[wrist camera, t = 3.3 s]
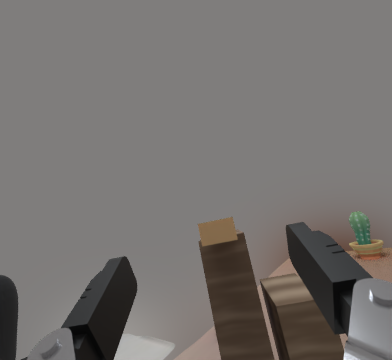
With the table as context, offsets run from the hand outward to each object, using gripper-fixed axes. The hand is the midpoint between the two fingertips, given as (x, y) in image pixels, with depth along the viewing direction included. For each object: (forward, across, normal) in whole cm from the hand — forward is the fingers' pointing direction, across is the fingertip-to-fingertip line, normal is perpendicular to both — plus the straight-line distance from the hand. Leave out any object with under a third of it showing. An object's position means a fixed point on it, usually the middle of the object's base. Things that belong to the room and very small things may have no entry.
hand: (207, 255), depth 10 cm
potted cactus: (+89, +75, -89) cm, 146 cm away
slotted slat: (+22, 0, -13) cm, 26 cm away
